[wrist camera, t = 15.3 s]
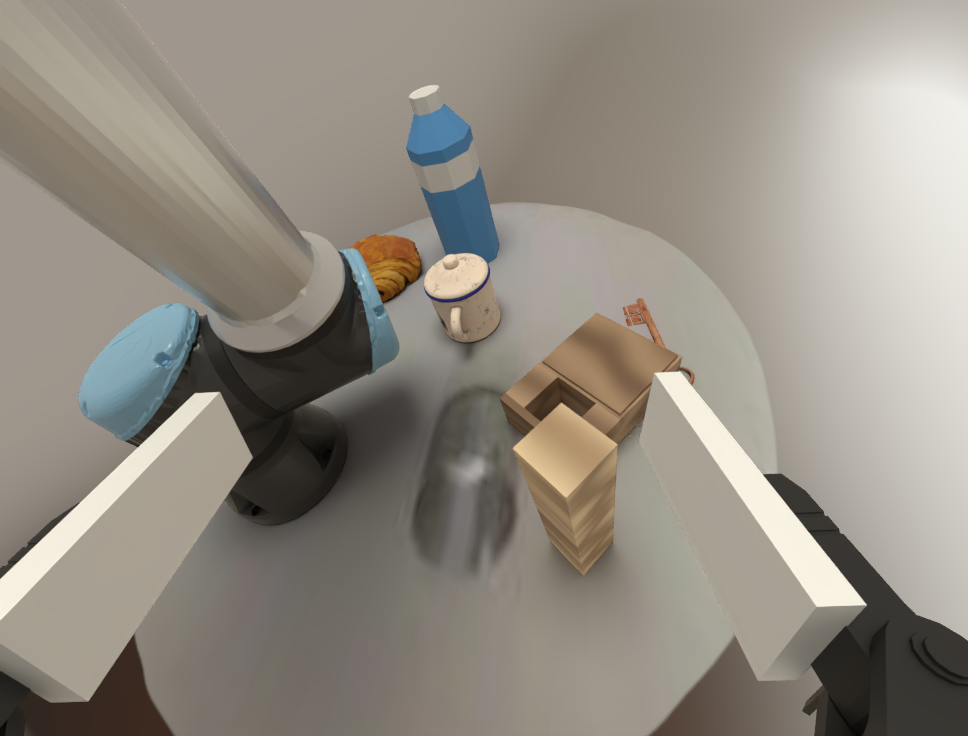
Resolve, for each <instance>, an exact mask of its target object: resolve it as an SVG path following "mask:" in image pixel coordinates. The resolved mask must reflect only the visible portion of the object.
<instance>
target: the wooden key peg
mask: <svg viewBox="0 0 968 736" xmlns="http://www.w3.org/2000/svg"><path fill="white" fill-rule="evenodd" d="M617 450H618V444H616V443H615V442H614V441H612V440H611V439H610V438H608V437H607V436H606V435H604V434H603V433H602V432H600V431H599V430H598V429H596V428H595V427H593V426H592V425H591V424H589V423H588V422H587V421H585V420H584V419H583V418H581V417H580V416H579V415H577V414H576V413H575V412H573V411H572V410H571V409H569V408H568V407H567V406H565V405H564V404H562V403H560V404H559V405H558V406H557V407H556V408H555V409H554V410H553V411H552V412H551V413H550V414H549V415H548V416H547V417H545V418H544V419H543V420H542V421H541V422H540V423H539V424H538V425H537V426H536V427H535V428H534V429H533V430H532V431H531V432H529V433H528V434H527V435H526V436H525V437H524V438H523V439H522V440H521V441H520V442H519V443H518V444H517V445H516V446H515V447H513V451H514V453H515V456H516V458H517V460H518V463H519V465H520V468H521V470H522V473H523V475H524V478H525V480H526V483H527V485H528V487H529V490H530V492H531V495H532V497H533V500H534V502H535V505H536V507H537V509H538V512H539V514H540V517H541V519H542V522H543V524H544V527H545V529H546V532H547V534H548V536H549V539H550V541H551V543H552V544H553V545H554V546H555V547H556V548H557V549H558V550H559V551H560V552H561V553H562V554H563V555H564V556H565V557H566V558H567V559H568V560H569V561H570V562H571V564H572V565H573V566H574V567H575V568H576V569H577V570H578V571H579V572H580V573H581V574H582V575H583V576H584V575H585V574H586V573H587V571H588V570H589V569H590V568H591V567H592V566H593V565H594V564H595V562H596V561H597V560H598V559H599V558H600V557H601V556H602V554H603V553H604V552H605V551H606V550H607V549H608V548H609V547H610V545H611V544H612V543H613V527H614V508H615V488H616V469H617Z"/></svg>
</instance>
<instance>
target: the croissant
mask: <svg viewBox="0 0 968 736" xmlns="http://www.w3.org/2000/svg"><path fill="white" fill-rule="evenodd" d="M351 248H354V249H357V250H358V251H359V252H360V253H361V255H362V257H363V259H364V261H365V264H366V266H367V268H368V270H369V272H370V275H371V277H372V279H373V281H374V283H375V286H376V288H377V290H378V293H379V295H380V298H381V300H382V302H385V301H386V300H387V299H389V298H392V297H393V296H394V295H395V294H399V291H402V289H403V288H404V286H407V285H410V284H411V283H413V282H415V281H416V280H417V276H418V274H419V272H420V269H421V261H420V257H419V255H418V254H419V253H418V251H417V248H416V246H415V243H414V242H413V241H411V240H409V239H406V238H402V237H397V236H387V235H385V236H377V235H372V236H370V237H368V238H365V239H363V240H361V241H358V242H356V243H355V245H353V246H352V247H351ZM349 249H350V248H349Z"/></svg>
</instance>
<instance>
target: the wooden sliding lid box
mask: <svg viewBox="0 0 968 736" xmlns="http://www.w3.org/2000/svg"><path fill="white" fill-rule="evenodd" d="M681 359H682V356H680V355H678V354H676V353H674V352H672V351H670V350H668V349H666V348H664V347H662V346H660V345H658V344H656V343H654V342H653V341H651V340H649V339H647V338H645V337H643V336H641V335H639V334H637V333H635V332H633V331H631V330H629V329H627V328H625V327H623V326H622V325H620V324H618V323H616V322H614V321H612V320H610V319H608V318H606V317H604V316H602V315H600V314H598V313H595V314H594V315H593V316H592V317H591V318H590V319H589V320H588V321H586V322H585V323H584V324H583V325H582V326H581V327H580V328H579V329H577V330H576V331H575V332H574V333H573V334H572V335H571V336H569V337H568V338H567V339H566V340H565V341H564V342H563V343H562V344H560V345H559V346H558V347H557V348H556V349H555V350H554V351H553V352H551V353H550V354H549V355H548V356H547V357H546V358H545V359H543V360H542V361H541V362H540V363H539V364H538V365H537V366H536V367H534V368H533V369H532V370H531V371H530V372H529V373H528V374H527V375H525V376H524V377H523V378H522V379H521V380H520V381H519V382H517V383H516V384H515V385H514V386H513V387H512V388H511V389H510V390H508V391H507V392H506V393H505V394H504V395H503V396H502V397H501V398H500V401H501V403H502V406H503V409H504V411H505V414H506V416H507V419H508V421H509V422H510V423H511V424H512V425H513V426H514V427H516V428H517V429H518V430H519V431H520V432H521V433H523V434H524V435H525V436H526V435H527V434H528V433H529V432H531V431H532V430H533V429H534V428H535V427H536V426H537V425H538V424H539V423H540V422H541V421H542V420H543V419H544V418H545V417H546V416H547V415H548V414H549V413H550V412H551V411H552V410H553V409H554V408H555V407H556V406H557V405H559V404H560V403H561V402H563V403H564V404H566V405H567V406H569V407H570V408H571V409H573V410H574V411H575V412H577V413H578V414H579V415H581V416H582V417H581V418H583V419H584V420H585V421H587V422H588V423H589V424H591V425H592V426H593V427H595V428H596V429H598V430H599V431H600V432H602V433H603V434H604V435H606V436H607V437H608V438H610V439H611V440H612V441H614V442H615V443H616V444H619V443H620V442H621V441H622V440H623V439H624V438H625V437H626V435H627V434H628V433H629V432H630V431H631V430H632V429H633V428H634V427H635V426H636V425H637V424H638V423H639V422H640V421H641V420H642V419H643V418H644V417H645V412H646V408H647V403H648V399H649V394H650V390H651V385H652V381H653V376H654V373H660V372H679V368H680V363H681Z"/></svg>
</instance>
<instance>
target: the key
mask: <svg viewBox="0 0 968 736" xmlns="http://www.w3.org/2000/svg"><path fill="white" fill-rule="evenodd" d="M636 307H638V309H639V312H640V313H638V311H637V309H636ZM632 308H634V309H632ZM627 309H628V311H629V314H634V315H630V316H626V317H631V316H635V317H631V318H632V321H633V323H634V325H637V324H642V323H646V324H647V326H648V328H649V330H650V332H651V335H652V337H653V339H654V341H655V343H656V344H658V345H660V346H662V347H664V348H665V346H664V343H663V341H662V339H661V337H660V335H659V333H658V331H657V328H656V326H655V324H654V322H653V320H652V318H651V316H650V313H649V311H648V309H647V307H646V305H645V303H644V301H643V299H642V298H639V299H637V304H633V305H630V306H627ZM623 310H624V314H625V315H628V313H627V311H626V309H625V307H623ZM635 313H638V314H635ZM636 315H641V317H642V319H643V321H641V318H640V316H636ZM626 317H625V318H626ZM638 321H639V322H638ZM626 322H627V326H632V323H631V321H630V318H627V319H626ZM679 370H682V371H685V372H687V373H688V374H689V375H690V377H691V379H690V381H689V383H690V384H692V383H693V381H694V378H695V377H694V374H693V372H692V371H691V370H689V369H687V368H684V367H680V368H679Z"/></svg>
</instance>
